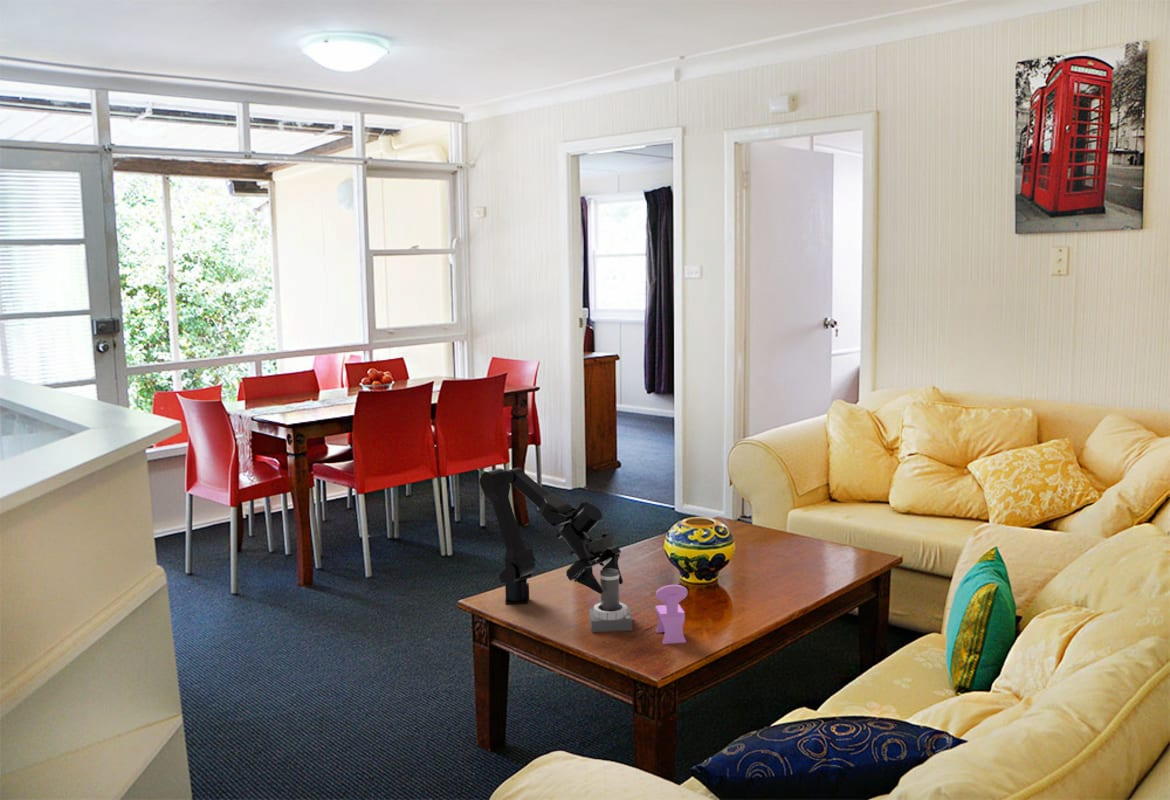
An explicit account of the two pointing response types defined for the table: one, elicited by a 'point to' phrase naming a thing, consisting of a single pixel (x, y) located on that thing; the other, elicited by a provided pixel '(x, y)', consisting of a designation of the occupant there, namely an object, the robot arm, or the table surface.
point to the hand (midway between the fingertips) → (612, 588)
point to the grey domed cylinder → (609, 589)
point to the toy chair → (671, 613)
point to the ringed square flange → (610, 619)
